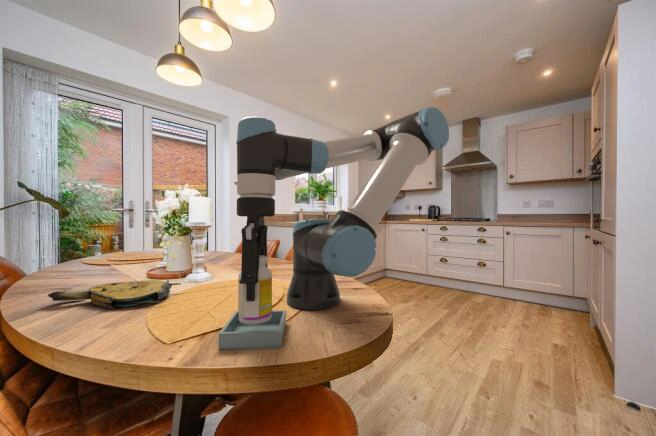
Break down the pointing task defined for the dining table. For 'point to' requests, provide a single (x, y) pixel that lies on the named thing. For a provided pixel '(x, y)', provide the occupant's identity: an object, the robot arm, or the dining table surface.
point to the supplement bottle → (264, 295)
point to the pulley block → (119, 294)
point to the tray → (253, 333)
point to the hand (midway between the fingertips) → (255, 309)
